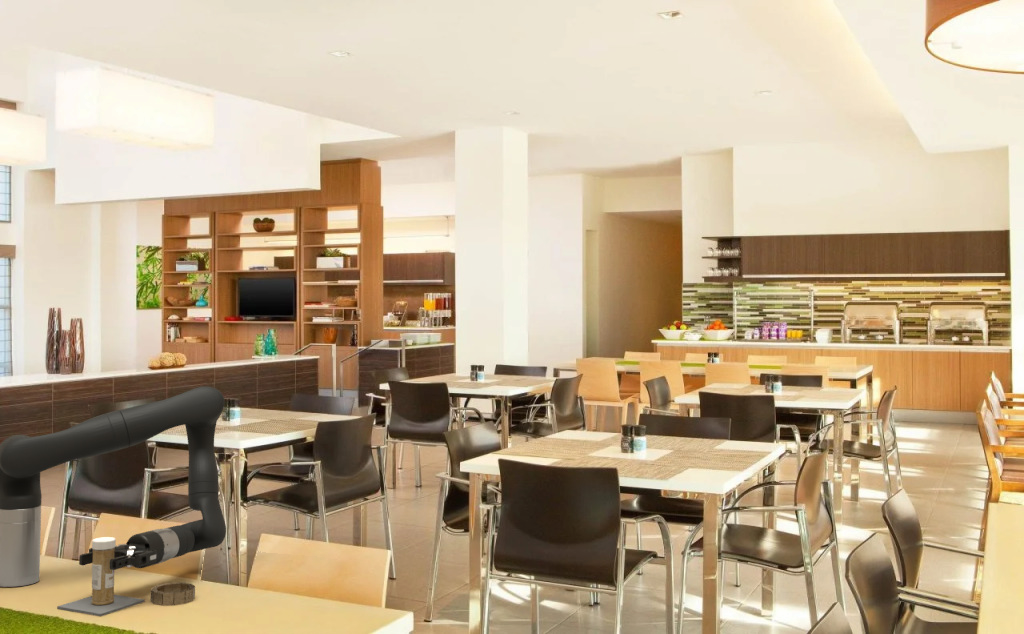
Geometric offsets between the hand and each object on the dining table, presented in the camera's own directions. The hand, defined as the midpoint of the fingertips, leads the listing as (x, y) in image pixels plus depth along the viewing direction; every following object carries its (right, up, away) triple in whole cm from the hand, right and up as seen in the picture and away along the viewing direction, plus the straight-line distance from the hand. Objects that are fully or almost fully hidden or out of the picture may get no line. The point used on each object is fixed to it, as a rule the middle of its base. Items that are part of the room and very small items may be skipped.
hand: (95, 562), depth 202 cm
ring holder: (+14, -10, +7) cm, 18 cm away
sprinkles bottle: (+1, -9, +2) cm, 9 cm away
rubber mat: (+1, -9, +2) cm, 9 cm away
